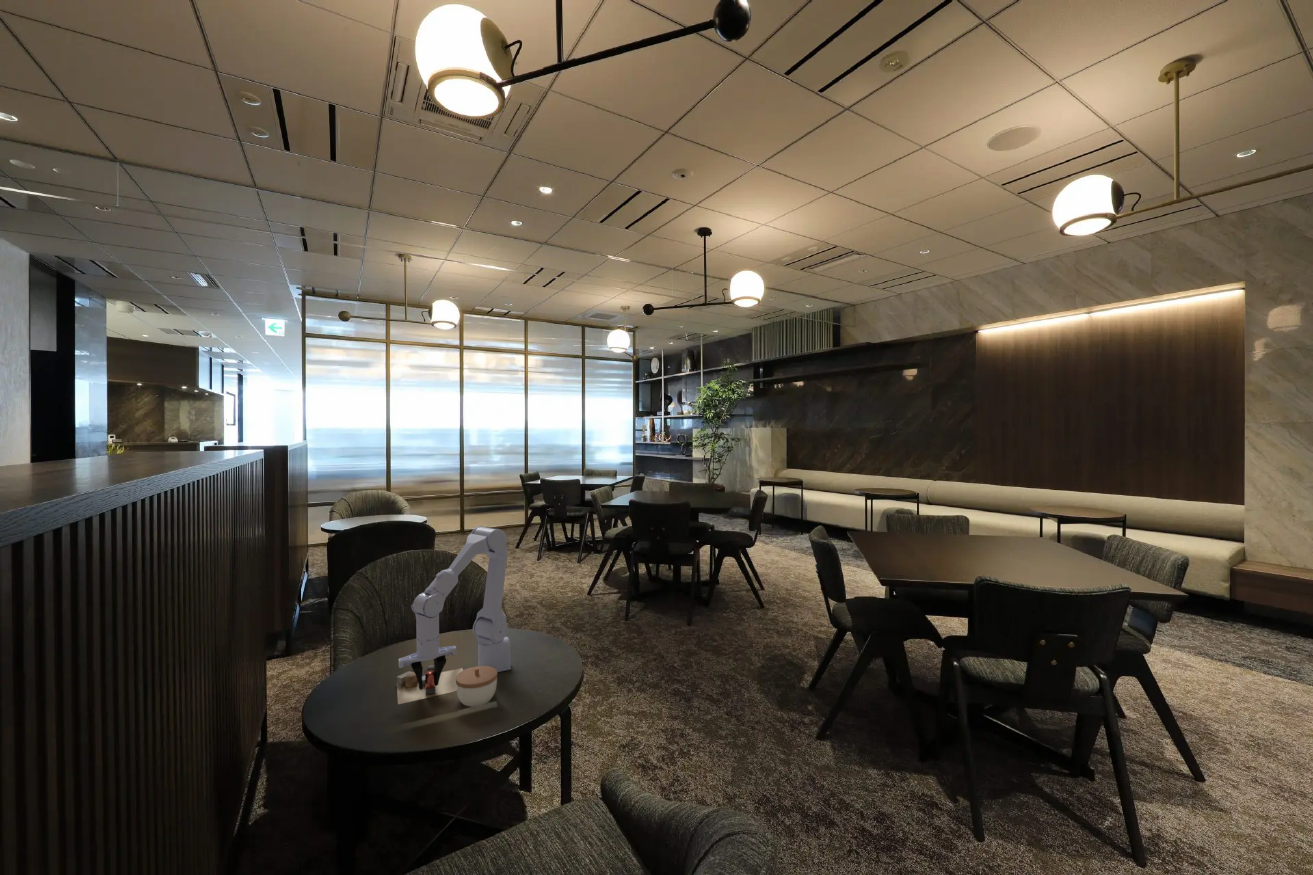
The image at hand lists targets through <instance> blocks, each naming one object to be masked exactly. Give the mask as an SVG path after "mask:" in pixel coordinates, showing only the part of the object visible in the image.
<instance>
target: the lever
mask: <svg viewBox="0 0 1313 875" xmlns="http://www.w3.org/2000/svg"><path fill="white" fill-rule="evenodd" d="M435 678H436V676H435V671H434V670H431V671H428V670H427V668H426V669H423V675H422V682H423V686H424V685H425V688H426V695H428V694H433V693H435V686H436V685H435Z"/></svg>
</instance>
